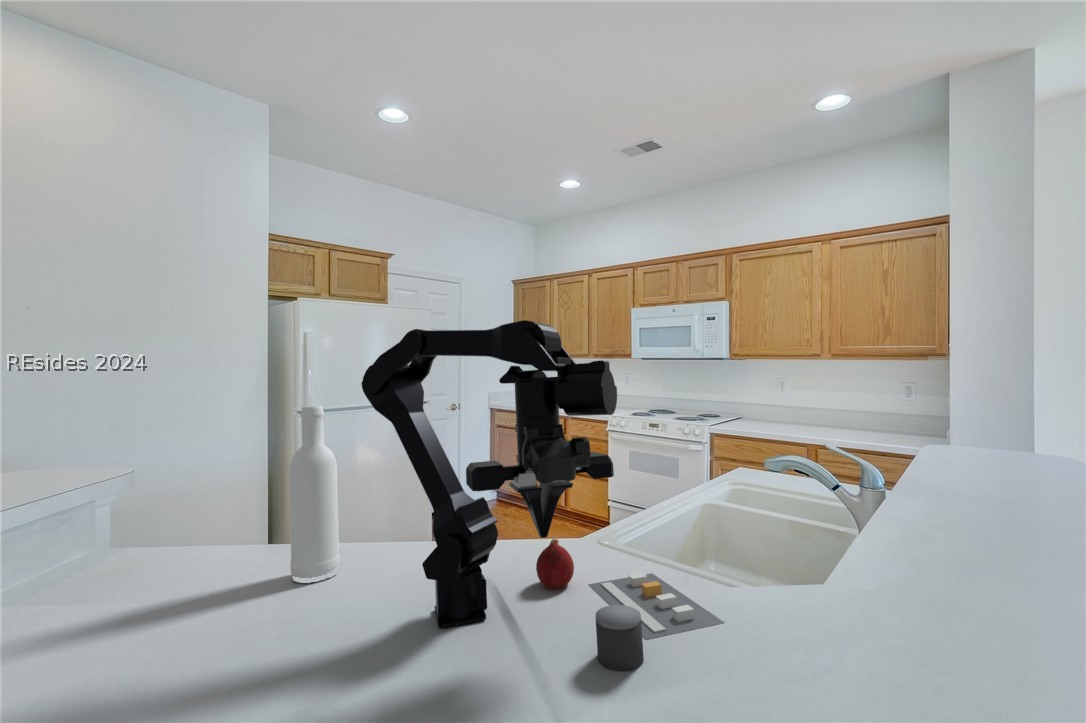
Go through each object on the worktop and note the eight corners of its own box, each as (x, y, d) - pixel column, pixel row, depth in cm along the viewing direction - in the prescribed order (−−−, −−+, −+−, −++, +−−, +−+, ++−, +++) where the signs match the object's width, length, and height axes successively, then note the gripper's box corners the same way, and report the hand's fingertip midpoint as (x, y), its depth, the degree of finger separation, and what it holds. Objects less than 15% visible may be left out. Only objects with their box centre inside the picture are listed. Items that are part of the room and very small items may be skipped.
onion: (572, 601, 73) (569, 545, 73) (533, 599, 74) (531, 545, 74) (577, 585, 78) (574, 534, 79) (541, 584, 80) (539, 533, 80)
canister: (609, 687, 52) (606, 629, 52) (591, 662, 56) (588, 609, 57) (652, 677, 53) (649, 620, 53) (631, 653, 58) (628, 601, 58)
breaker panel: (646, 650, 58) (645, 629, 59) (588, 592, 76) (587, 576, 76) (725, 632, 62) (724, 612, 62) (652, 580, 79) (651, 565, 79)
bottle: (307, 587, 83) (304, 407, 84) (281, 579, 87) (278, 408, 88) (349, 571, 89) (345, 404, 91) (322, 565, 94) (319, 405, 95)
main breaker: (646, 597, 70) (646, 587, 70) (642, 593, 71) (641, 583, 71) (661, 594, 71) (661, 584, 71) (656, 590, 72) (656, 581, 72)
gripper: (477, 424, 55) (483, 568, 54) (629, 414, 61) (636, 544, 60) (463, 420, 66) (467, 540, 65) (593, 411, 71) (599, 522, 70)
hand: (543, 537), depth 65 cm, fingers closed
